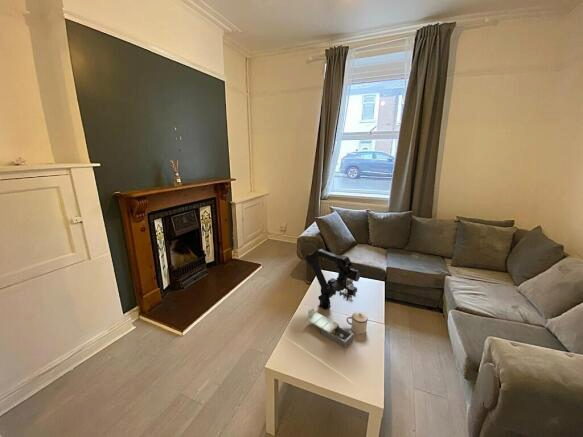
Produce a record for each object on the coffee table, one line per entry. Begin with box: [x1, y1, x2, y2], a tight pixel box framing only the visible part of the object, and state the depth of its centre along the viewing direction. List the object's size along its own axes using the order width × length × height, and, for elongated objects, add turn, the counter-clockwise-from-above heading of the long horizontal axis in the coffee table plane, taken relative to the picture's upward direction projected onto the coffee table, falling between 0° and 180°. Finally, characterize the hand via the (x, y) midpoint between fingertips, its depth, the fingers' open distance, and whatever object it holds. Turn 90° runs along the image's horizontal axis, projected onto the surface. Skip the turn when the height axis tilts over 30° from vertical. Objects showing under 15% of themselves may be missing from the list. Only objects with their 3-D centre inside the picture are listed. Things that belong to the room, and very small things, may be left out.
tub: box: [320, 325, 355, 349], centre depth 141 cm, size 16×9×4 cm, turn 48°
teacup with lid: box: [346, 311, 369, 335], centre depth 147 cm, size 12×9×12 cm
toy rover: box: [339, 279, 357, 297], centre depth 190 cm, size 18×10×12 cm
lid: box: [306, 306, 340, 333], centre depth 147 cm, size 18×10×5 cm, turn 48°
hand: (340, 297), depth 160 cm, fingers open, 9 cm apart
